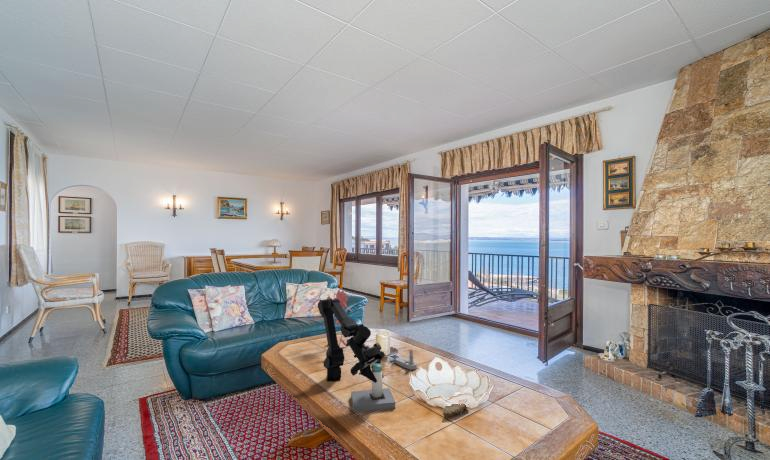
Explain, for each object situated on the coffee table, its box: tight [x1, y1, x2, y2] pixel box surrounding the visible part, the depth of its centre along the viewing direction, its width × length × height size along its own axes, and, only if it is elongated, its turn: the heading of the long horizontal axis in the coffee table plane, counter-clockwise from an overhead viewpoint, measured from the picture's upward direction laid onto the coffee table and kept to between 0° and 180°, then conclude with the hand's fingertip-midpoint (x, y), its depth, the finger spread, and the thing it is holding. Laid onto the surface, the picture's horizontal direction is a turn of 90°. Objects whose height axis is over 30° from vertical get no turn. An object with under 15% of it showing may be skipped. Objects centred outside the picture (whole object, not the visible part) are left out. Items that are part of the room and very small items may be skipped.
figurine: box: [326, 289, 353, 352], centre depth 224 cm, size 15×26×35 cm, turn 46°
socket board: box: [350, 387, 396, 413], centre depth 148 cm, size 17×13×2 cm
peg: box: [371, 363, 383, 397], centre depth 148 cm, size 4×4×12 cm
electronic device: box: [394, 349, 418, 371], centre depth 189 cm, size 5×10×15 cm
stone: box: [442, 404, 468, 420], centre depth 139 cm, size 14×7×5 cm, turn 143°
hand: (379, 380), depth 148 cm, fingers closed on peg, 4 cm apart
